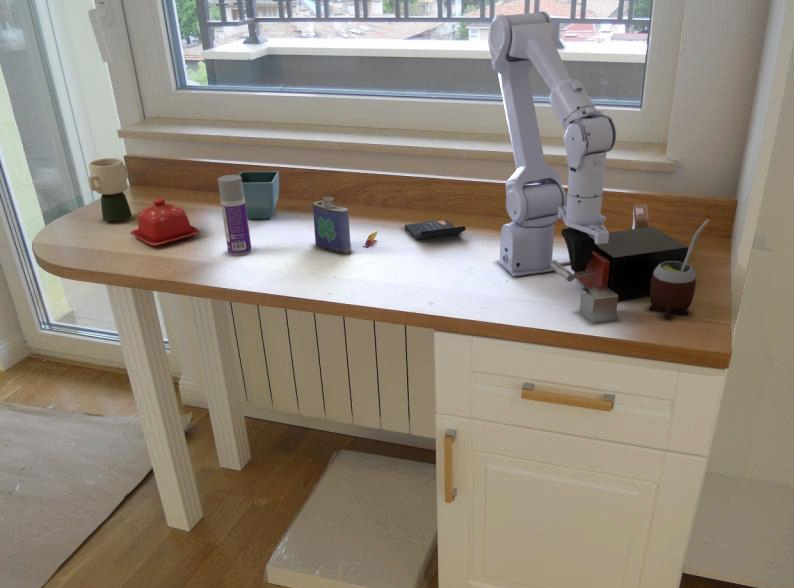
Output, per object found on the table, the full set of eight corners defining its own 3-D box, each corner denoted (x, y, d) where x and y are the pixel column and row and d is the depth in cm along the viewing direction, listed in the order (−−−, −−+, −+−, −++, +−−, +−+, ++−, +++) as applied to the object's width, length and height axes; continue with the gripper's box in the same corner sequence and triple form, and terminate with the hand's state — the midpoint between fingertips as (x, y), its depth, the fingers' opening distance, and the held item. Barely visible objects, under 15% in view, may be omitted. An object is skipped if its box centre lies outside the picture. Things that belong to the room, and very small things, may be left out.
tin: (647, 266, 151) (653, 222, 147) (630, 265, 151) (635, 222, 147) (644, 238, 164) (649, 198, 159) (628, 237, 164) (633, 197, 160)
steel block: (591, 324, 130) (594, 299, 128) (579, 313, 134) (581, 288, 132) (615, 320, 131) (618, 295, 129) (602, 309, 135) (605, 285, 133)
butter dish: (152, 251, 163) (144, 210, 159) (128, 237, 171) (120, 198, 166) (203, 237, 170) (197, 198, 165) (178, 224, 177) (171, 186, 173)
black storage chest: (608, 302, 137) (613, 257, 133) (578, 278, 146) (582, 235, 142) (681, 291, 141) (688, 247, 136) (647, 268, 150) (653, 226, 146)
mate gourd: (644, 317, 132) (656, 230, 124) (650, 298, 138) (661, 214, 131) (691, 323, 130) (706, 235, 122) (695, 304, 136) (710, 218, 128)
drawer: (569, 303, 136) (572, 266, 132) (544, 281, 144) (547, 246, 141) (668, 287, 140) (674, 251, 137) (639, 267, 148) (643, 233, 145)
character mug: (123, 210, 187) (111, 154, 180) (147, 214, 184) (135, 157, 177) (88, 225, 178) (74, 166, 172) (112, 229, 175) (98, 170, 169)
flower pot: (277, 222, 177) (272, 182, 173) (237, 222, 177) (232, 182, 173) (283, 209, 185) (279, 170, 180) (245, 210, 185) (240, 171, 180)
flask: (354, 251, 160) (350, 199, 155) (343, 256, 159) (339, 203, 153) (321, 242, 166) (317, 191, 160) (311, 246, 164) (306, 195, 158)
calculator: (445, 223, 174) (445, 209, 173) (465, 240, 165) (465, 226, 163) (404, 228, 172) (404, 215, 170) (422, 246, 162) (422, 232, 161)
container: (256, 249, 163) (246, 176, 155) (242, 257, 159) (232, 182, 152) (237, 246, 165) (227, 173, 157) (223, 254, 161) (212, 180, 153)
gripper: (629, 202, 127) (620, 282, 134) (586, 178, 139) (579, 252, 146) (589, 208, 125) (581, 288, 132) (548, 183, 137) (544, 257, 144)
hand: (578, 270), depth 139 cm, fingers closed
